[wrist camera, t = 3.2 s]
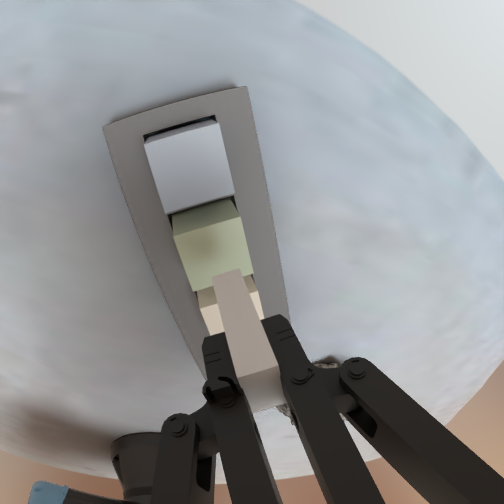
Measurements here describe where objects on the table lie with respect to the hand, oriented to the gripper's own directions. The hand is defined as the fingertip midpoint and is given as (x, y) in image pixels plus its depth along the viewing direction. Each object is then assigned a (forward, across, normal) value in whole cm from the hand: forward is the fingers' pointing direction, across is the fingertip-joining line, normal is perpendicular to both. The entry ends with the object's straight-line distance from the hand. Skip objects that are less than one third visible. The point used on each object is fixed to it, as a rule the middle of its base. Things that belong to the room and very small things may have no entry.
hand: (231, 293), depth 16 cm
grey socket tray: (+11, 0, -3) cm, 11 cm away
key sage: (+9, 0, 0) cm, 9 cm away
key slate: (+9, 0, +6) cm, 10 cm away
